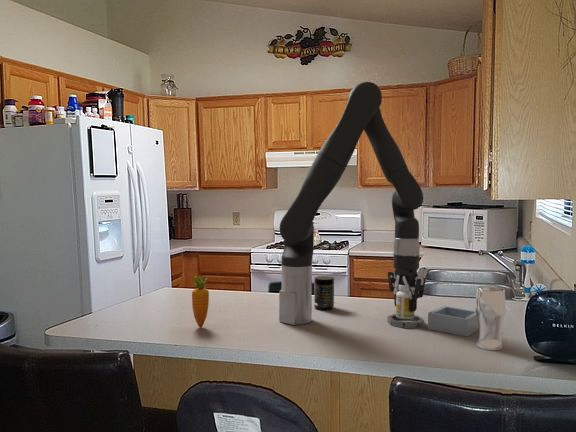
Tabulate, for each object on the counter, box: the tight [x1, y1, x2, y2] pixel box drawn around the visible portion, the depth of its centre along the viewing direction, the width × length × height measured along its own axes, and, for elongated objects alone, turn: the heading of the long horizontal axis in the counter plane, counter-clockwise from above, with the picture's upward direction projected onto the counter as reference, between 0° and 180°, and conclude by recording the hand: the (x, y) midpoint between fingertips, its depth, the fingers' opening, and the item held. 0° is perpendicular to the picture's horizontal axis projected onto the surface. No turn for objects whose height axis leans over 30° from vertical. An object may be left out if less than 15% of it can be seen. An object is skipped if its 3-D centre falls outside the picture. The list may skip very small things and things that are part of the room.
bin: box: [427, 305, 478, 337], centre depth 136 cm, size 11×11×5 cm
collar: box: [386, 313, 425, 329], centre depth 141 cm, size 10×10×2 cm
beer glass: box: [475, 285, 506, 351], centre depth 120 cm, size 7×7×15 cm
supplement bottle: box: [395, 284, 415, 320], centre depth 141 cm, size 5×5×10 cm
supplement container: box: [313, 275, 335, 311], centre depth 158 cm, size 7×7×10 cm
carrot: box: [191, 275, 210, 328], centre depth 135 cm, size 5×5×15 cm
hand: (405, 308), depth 141 cm, fingers closed on supplement bottle, 5 cm apart
